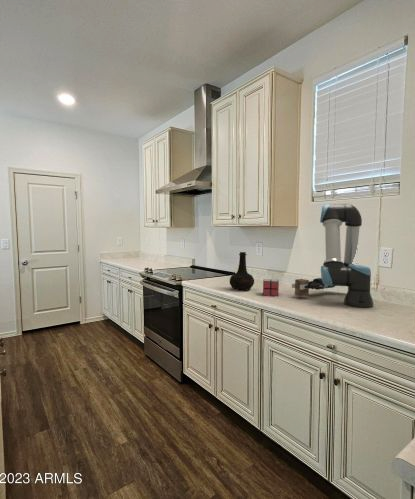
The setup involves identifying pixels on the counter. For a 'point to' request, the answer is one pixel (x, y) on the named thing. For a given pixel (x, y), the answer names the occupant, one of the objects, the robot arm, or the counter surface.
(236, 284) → the dark bulbous vase
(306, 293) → the walnut block
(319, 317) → the counter surface
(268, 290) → the puzzle cube
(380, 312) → the counter surface
